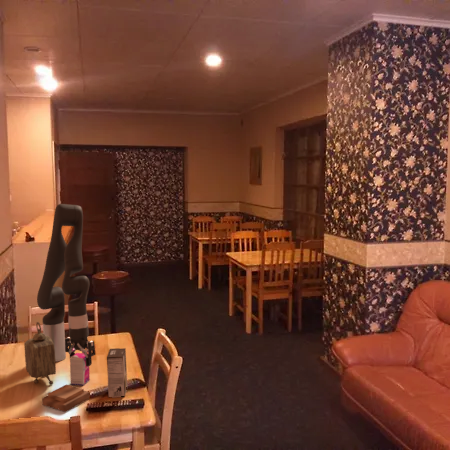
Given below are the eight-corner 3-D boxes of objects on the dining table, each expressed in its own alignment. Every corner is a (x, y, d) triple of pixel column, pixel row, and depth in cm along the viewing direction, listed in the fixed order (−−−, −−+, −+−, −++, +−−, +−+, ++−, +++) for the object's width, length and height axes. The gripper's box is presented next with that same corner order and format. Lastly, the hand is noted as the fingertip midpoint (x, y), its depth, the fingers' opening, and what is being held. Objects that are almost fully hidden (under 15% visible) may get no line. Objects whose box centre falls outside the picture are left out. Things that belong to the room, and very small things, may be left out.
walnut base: (42, 404, 186) (41, 394, 185) (67, 392, 196) (66, 382, 195) (65, 411, 180) (65, 401, 179) (89, 398, 190) (89, 388, 190)
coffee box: (111, 387, 199) (109, 348, 197) (127, 386, 200) (126, 347, 198) (108, 398, 190) (106, 356, 188) (125, 397, 191) (123, 356, 189)
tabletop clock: (56, 385, 202) (53, 325, 200) (33, 391, 197) (29, 329, 195) (48, 373, 214) (44, 316, 212) (26, 378, 210) (22, 320, 207)
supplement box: (83, 386, 201) (82, 358, 200) (70, 385, 202) (68, 357, 201) (90, 380, 207) (89, 353, 206) (77, 379, 208) (75, 352, 207)
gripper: (58, 325, 202) (61, 364, 204) (84, 330, 196) (87, 370, 197) (72, 320, 209) (74, 358, 211) (98, 324, 202) (100, 363, 204)
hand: (80, 364), depth 204 cm, fingers open, 8 cm apart
